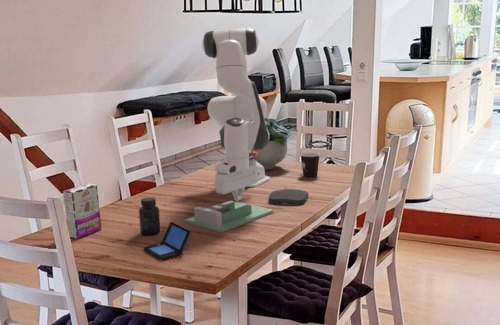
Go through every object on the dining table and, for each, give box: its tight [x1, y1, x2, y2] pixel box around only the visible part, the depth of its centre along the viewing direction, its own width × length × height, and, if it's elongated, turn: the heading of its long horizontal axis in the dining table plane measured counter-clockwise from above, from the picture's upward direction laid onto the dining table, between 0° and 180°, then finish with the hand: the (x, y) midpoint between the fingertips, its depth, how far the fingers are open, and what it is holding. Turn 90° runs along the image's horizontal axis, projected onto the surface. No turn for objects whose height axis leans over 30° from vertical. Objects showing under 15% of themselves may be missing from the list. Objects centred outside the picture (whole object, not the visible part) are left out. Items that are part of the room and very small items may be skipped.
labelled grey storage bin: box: [207, 203, 229, 214], centre depth 212 cm, size 7×5×5 cm
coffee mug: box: [300, 152, 320, 178], centre depth 276 cm, size 12×9×10 cm
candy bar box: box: [62, 182, 102, 240], centre depth 203 cm, size 11×5×16 cm, turn 148°
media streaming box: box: [268, 188, 309, 206], centre depth 238 cm, size 15×15×3 cm
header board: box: [184, 200, 275, 233], centre depth 217 cm, size 28×18×6 cm, turn 139°
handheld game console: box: [143, 221, 191, 261], centre depth 185 cm, size 12×11×7 cm
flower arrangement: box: [247, 117, 295, 170], centre depth 290 cm, size 25×25×24 cm
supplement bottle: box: [138, 197, 161, 237], centre depth 202 cm, size 7×7×12 cm
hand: (238, 199), depth 220 cm, fingers closed
